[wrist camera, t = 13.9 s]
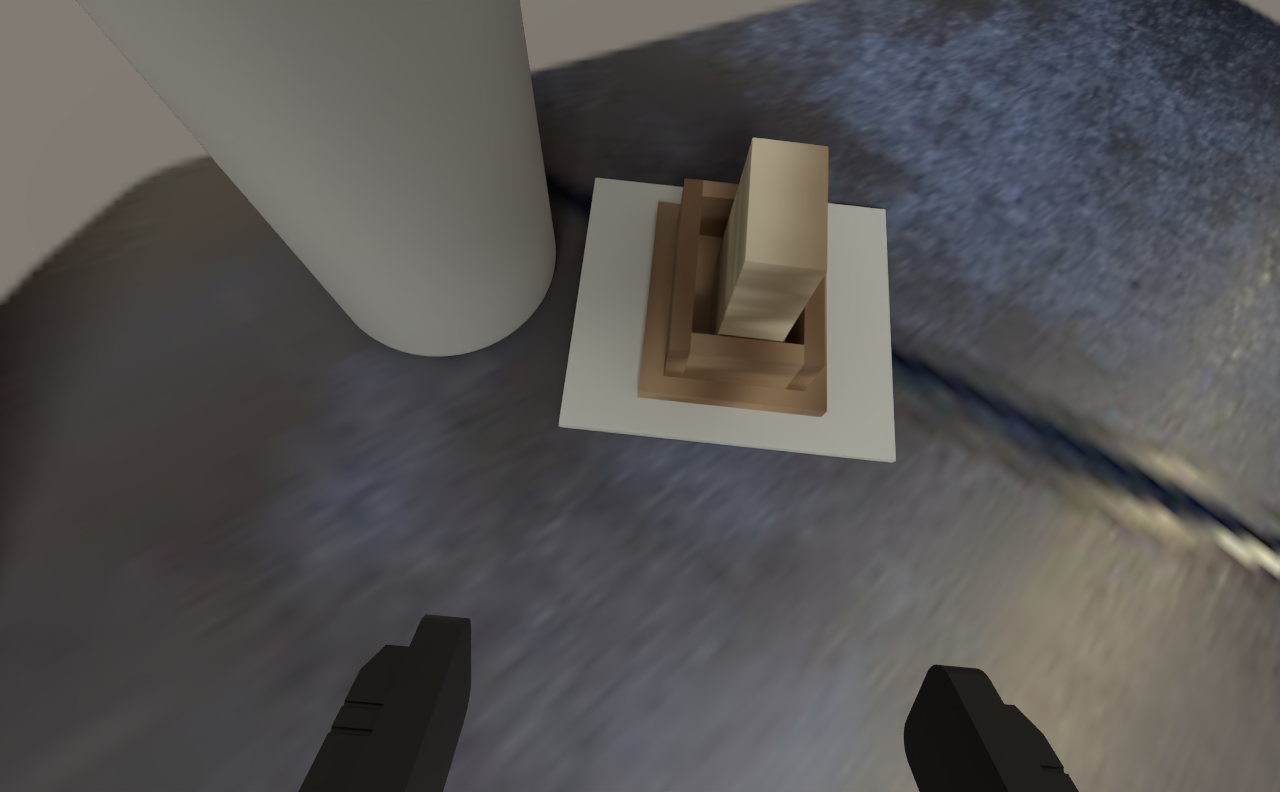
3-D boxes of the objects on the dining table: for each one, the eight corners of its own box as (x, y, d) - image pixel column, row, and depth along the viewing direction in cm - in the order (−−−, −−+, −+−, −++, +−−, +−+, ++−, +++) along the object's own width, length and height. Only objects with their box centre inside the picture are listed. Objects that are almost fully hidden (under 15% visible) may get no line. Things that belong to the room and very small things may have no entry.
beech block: (707, 361, 34) (745, 260, 24) (715, 264, 36) (752, 137, 26) (766, 368, 34) (827, 270, 24) (770, 271, 36) (828, 146, 26)
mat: (559, 426, 33) (558, 424, 33) (595, 181, 39) (595, 177, 38) (892, 462, 34) (895, 460, 33) (882, 213, 39) (885, 209, 39)
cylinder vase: (482, 143, 40) (294, -558, 16) (599, 284, 36) (578, -323, 13) (300, 241, 37) (-260, -439, 13) (410, 404, 34) (-61, -99, 10)
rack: (637, 397, 34) (641, 365, 30) (657, 211, 38) (663, 160, 34) (821, 417, 34) (851, 388, 30) (820, 229, 38) (847, 180, 34)
